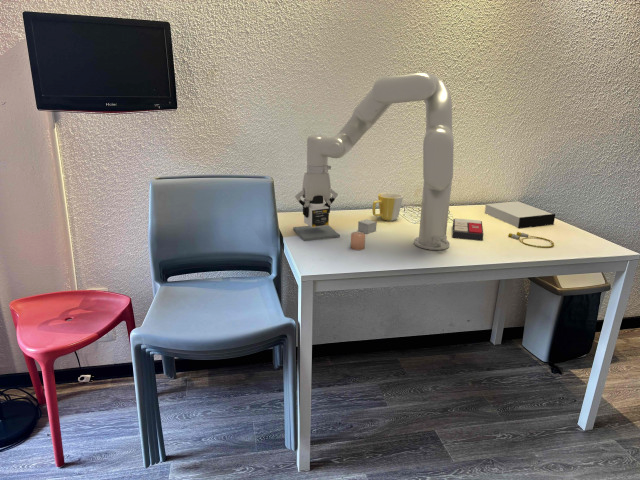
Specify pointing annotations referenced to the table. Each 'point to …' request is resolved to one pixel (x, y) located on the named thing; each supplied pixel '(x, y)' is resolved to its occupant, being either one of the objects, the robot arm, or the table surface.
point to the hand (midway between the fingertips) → (316, 215)
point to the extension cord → (528, 238)
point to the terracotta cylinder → (357, 241)
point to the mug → (388, 205)
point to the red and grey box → (467, 229)
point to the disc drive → (519, 214)
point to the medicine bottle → (317, 212)
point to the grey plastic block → (367, 226)
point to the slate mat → (315, 232)
